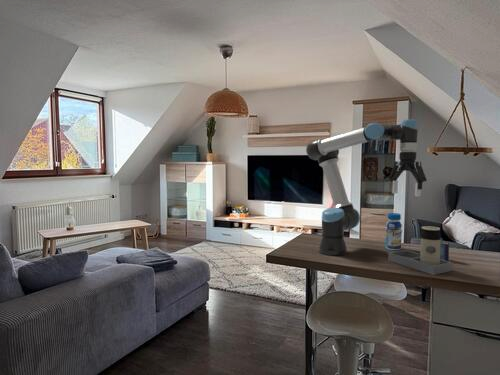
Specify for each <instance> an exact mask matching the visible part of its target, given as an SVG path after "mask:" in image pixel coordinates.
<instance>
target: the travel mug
mask: <svg viewBox="0 0 500 375" xmlns="http://www.w3.org/2000/svg"><path fill="white" fill-rule="evenodd" d="M421 230H422V232H421V233H420V248H419V249H420V252H419V253H420V262H423V263H426V264H429V265H433V266H434V265H439V264H440V244H441V238H442V237H441V234H440V230H441V228H440V227H438V226H437V227H436V226H430V225H429V226H427V225H425V226H421Z"/></svg>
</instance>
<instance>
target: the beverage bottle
mask: <svg viewBox="0 0 500 375" xmlns="http://www.w3.org/2000/svg"><path fill="white" fill-rule="evenodd" d="M401 216H402V215H401V214H400V213H397V212H396V213H395V212H388V213H387V220H388V221H387V222H386V225H385V248H386V249H387V250H390V251H402V233H403V229H402V227H403V224H402V222H401V220H402V218H401Z"/></svg>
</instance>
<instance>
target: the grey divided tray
mask: <svg viewBox="0 0 500 375" xmlns="http://www.w3.org/2000/svg"><path fill="white" fill-rule="evenodd" d="M387 256H388V257H387V258H388V259H387V260H388V261H389V262H392V263H395V264H399V265H401V266H405V267H408V268H411V269H414V270H417V271H419V272H423V273H426V274H429V275H433V276H434V275H440V274H444V273H449V272H453V262H452V261H445V260H442V259H440V264H439V265H434V266H433V265H429V264H426V263H423V262H420V252H415V251H411V250H408V249H403V250H402V249H401V250H395V251H391V252H388V253H387Z"/></svg>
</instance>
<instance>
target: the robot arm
mask: <svg viewBox="0 0 500 375" xmlns="http://www.w3.org/2000/svg"><path fill="white" fill-rule="evenodd" d="M418 123H419V122H418V120H417V119H413V118H412V119H411V118H410V119H402V120H401V121H400V124H395V125H394V124H384V123H380V122H371V123H368V125H366V126H364V127H360V128H357V129H354V130H350V131H347V132H343V133H341V134H337V135H333V136H330V137H327V138H323V137H321V138H316V139H313V140H311V141H310V142H309V143H307V145H306V148H305V149H306V150H305V152H306V154H307V156H308V158H309V159H310V160H313V161H317V162H318V165H319V167H321V168H322V170H323V171H322V172H323V174H324V176H325V180H326V184H327V187H328V189H329V194H330V196H331V201H332V203H333V207H331V208H327V209H324V210H322V212H321V213H322V214H321V239H320V242H319V245H318V253H320V254H323V255H328V256H344V255H346V254H347V253H348V247H347V245H346V242H345V239H344V233H345V231H348V230H353V229H355V228H356V227H357V226H358V225H359V223H360V220H361V215H360V213H359V211H358V210H357V209H356V208H355V207H354V205H353V203H352V202H350V201H349V198H348V195H347V192H346V189H345V186H344V182H343V179H342V176H341V173H340V169H339V166H338V161H339V154H340V150H341V149H346V148H349V147H350V148H351V147H353V146H357V145H361V144H365V143H368V142H373V141H377V140H378V141H381V142H382V141H383V142H384V141H385V142H387V141H399V151H400V152H399V155H398V156H399V160H400V161H398V160H397V161H396V160H395V161H394V163H393V167H392V169H391V171H390V174H389V176H388V179H389V180H390V181H391V187H392V189H391V190H392V192H391V193H392V194H398V186H399V184H398V183H399V181H398V179H399V178H400V176H401V175H402V174H403V172H405V171H406V172H408V171H409V172H410V173H411V174H412V176H413V177H414V179H415V180H416V182H415V188H414V189H415V191H414V197H421V195H422V194H421V191H422V189H423V183H424V182H427V176H426V174H425V173H424V172H425V171H424V169H423V167H422V162H421V161H416V159H417V152H416V151H418V148H417V147H418V133H419V132H418V130H419V126H418Z"/></svg>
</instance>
